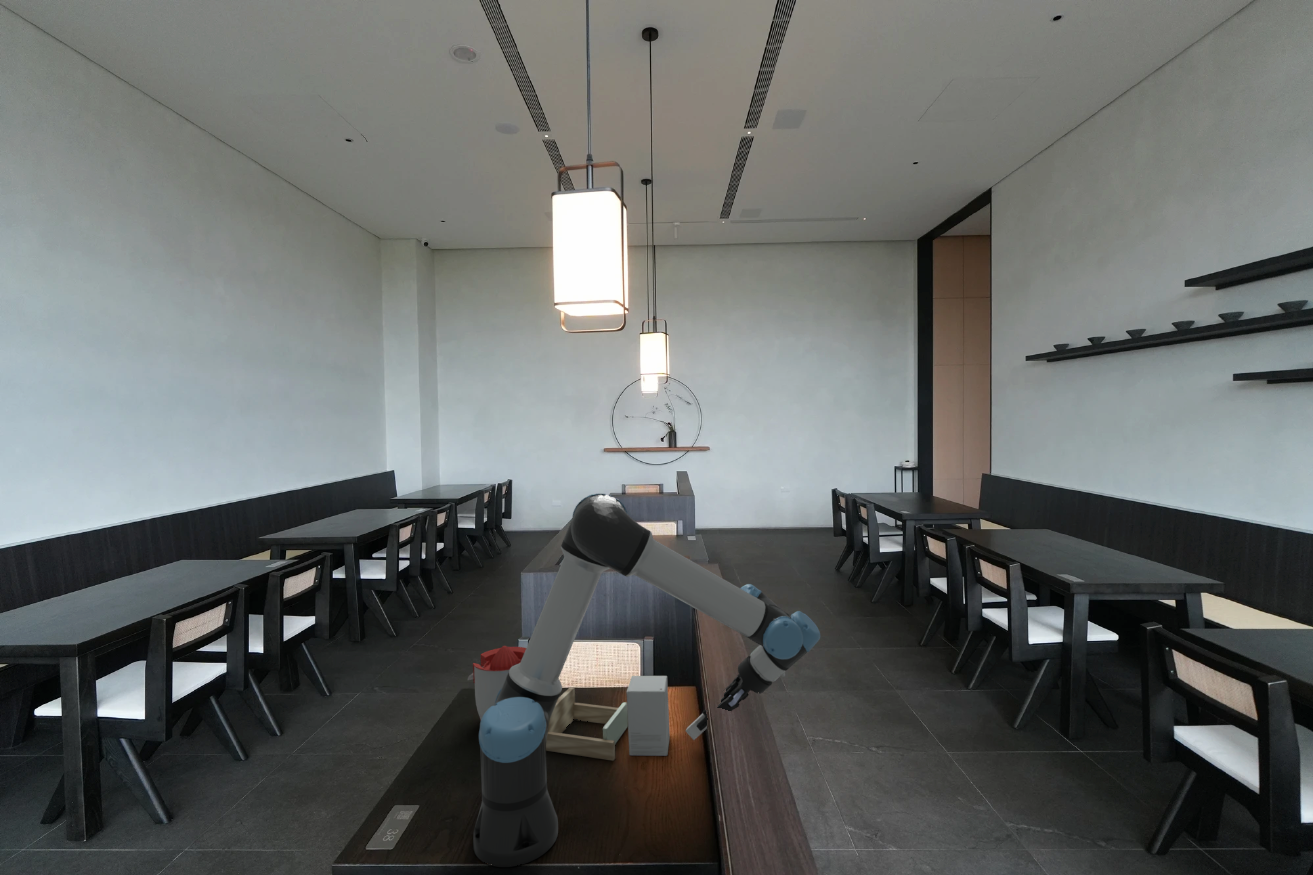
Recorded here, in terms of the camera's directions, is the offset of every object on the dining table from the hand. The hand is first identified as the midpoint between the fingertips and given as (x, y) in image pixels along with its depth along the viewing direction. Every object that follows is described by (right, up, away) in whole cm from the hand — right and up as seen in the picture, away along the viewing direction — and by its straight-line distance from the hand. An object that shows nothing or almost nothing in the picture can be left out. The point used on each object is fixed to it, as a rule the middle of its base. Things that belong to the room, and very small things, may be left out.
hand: (690, 733), depth 135 cm
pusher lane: (-24, -5, +8) cm, 25 cm away
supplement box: (-9, -5, +3) cm, 11 cm away
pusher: (-18, -4, +6) cm, 19 cm away
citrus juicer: (-47, -6, +16) cm, 50 cm away
